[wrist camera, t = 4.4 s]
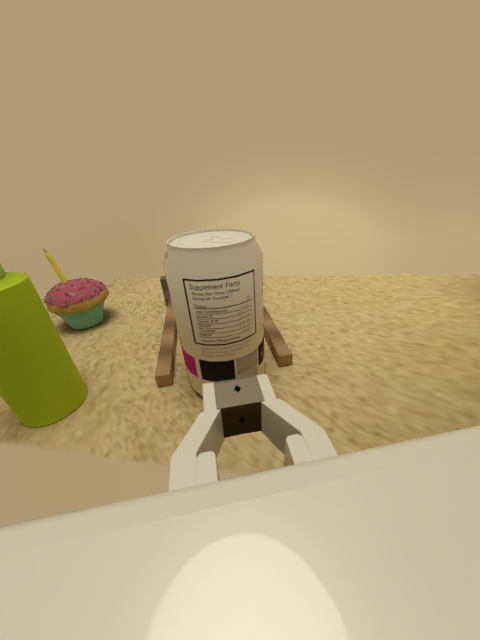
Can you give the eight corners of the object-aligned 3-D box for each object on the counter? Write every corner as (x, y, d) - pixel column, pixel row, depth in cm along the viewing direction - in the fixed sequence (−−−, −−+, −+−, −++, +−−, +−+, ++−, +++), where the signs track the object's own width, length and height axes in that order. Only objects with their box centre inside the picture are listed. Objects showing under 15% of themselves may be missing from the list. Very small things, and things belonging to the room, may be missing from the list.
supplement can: (174, 387, 26) (135, 245, 19) (219, 346, 32) (203, 225, 25) (239, 418, 22) (223, 255, 15) (276, 365, 28) (278, 229, 21)
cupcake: (45, 336, 37) (1, 257, 31) (80, 309, 45) (50, 242, 39) (98, 335, 36) (64, 255, 30) (125, 308, 44) (102, 239, 38)
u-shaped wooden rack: (297, 363, 28) (300, 326, 26) (151, 388, 26) (138, 351, 24) (255, 291, 47) (254, 265, 44) (167, 302, 45) (161, 276, 42)
